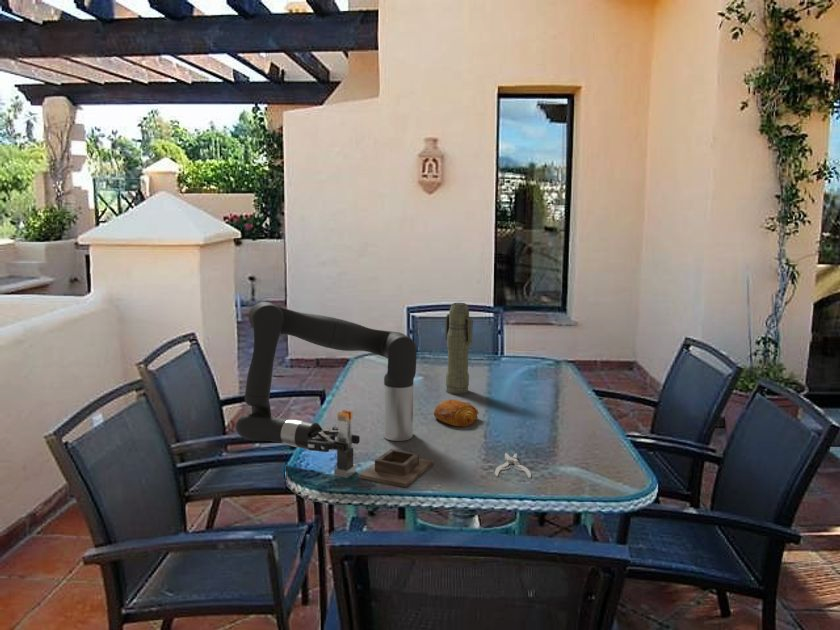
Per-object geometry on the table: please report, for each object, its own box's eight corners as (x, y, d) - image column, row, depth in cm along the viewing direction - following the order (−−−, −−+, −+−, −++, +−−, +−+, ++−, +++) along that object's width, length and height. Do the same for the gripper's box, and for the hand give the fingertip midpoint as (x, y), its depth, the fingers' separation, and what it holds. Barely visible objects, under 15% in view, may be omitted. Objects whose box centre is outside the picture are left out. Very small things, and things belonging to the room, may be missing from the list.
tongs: (343, 468, 193) (343, 408, 190) (356, 471, 191) (356, 410, 188) (334, 475, 188) (334, 413, 185) (346, 478, 187) (346, 415, 184)
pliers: (495, 472, 189) (493, 452, 204) (495, 477, 189) (493, 457, 204) (531, 474, 188) (527, 453, 203) (531, 479, 188) (527, 459, 203)
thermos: (465, 396, 265) (467, 306, 259) (438, 391, 271) (440, 303, 265) (475, 391, 272) (478, 303, 266) (449, 386, 278) (451, 300, 272)
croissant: (451, 436, 227) (453, 414, 225) (426, 416, 240) (427, 395, 237) (486, 427, 235) (488, 406, 232) (460, 409, 247) (462, 389, 245)
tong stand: (389, 455, 203) (389, 442, 202) (433, 464, 197) (433, 450, 197) (359, 477, 187) (359, 463, 186) (405, 487, 181) (406, 473, 180)
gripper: (285, 428, 187) (339, 438, 180) (315, 414, 200) (366, 422, 193) (286, 455, 188) (339, 465, 181) (315, 438, 201) (366, 448, 194)
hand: (353, 443), depth 187 cm, fingers open, 5 cm apart
